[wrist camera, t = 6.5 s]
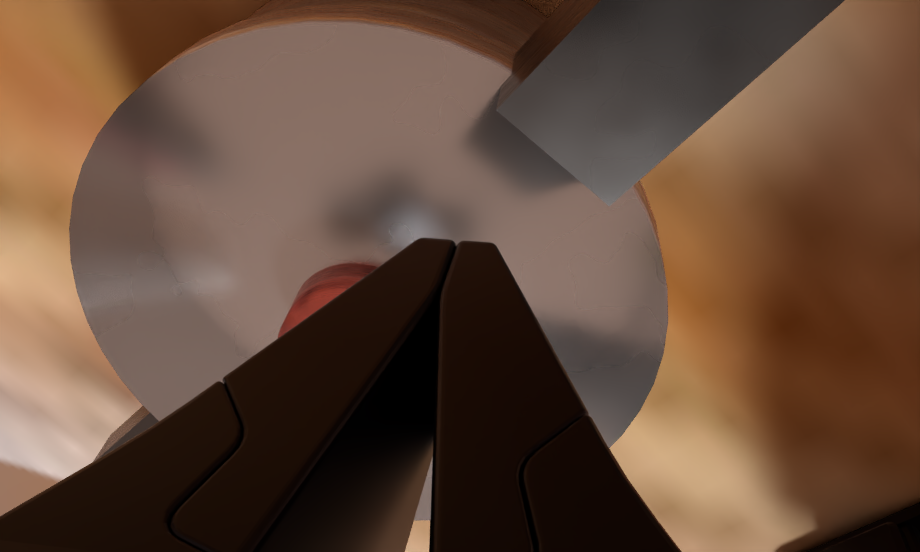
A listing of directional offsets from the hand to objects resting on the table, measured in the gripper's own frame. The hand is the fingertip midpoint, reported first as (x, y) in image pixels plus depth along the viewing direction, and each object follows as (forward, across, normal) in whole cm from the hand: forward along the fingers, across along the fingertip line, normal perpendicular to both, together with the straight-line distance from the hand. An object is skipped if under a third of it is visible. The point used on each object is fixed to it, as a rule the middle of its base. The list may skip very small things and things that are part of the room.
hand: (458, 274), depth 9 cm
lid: (+7, 0, +2) cm, 8 cm away
